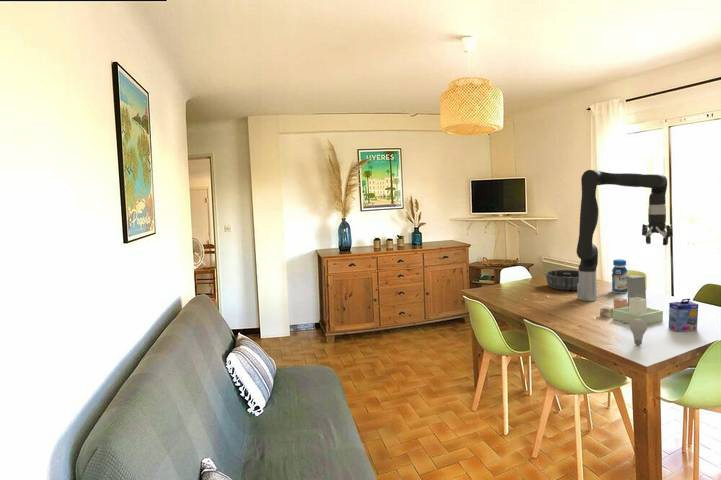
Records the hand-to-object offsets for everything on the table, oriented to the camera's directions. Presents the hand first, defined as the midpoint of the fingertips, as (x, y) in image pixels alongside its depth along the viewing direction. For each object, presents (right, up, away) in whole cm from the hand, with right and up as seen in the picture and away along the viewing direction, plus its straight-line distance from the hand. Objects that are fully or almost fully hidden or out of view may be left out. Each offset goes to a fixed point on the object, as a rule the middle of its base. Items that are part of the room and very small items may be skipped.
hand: (656, 244), depth 223 cm
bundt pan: (-17, -30, +61) cm, 70 cm away
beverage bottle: (+6, -30, +42) cm, 52 cm away
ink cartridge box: (-10, -38, -31) cm, 50 cm away
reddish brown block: (-19, -35, 0) cm, 40 cm away
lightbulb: (-40, -41, -46) cm, 74 cm away
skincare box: (-2, -33, +14) cm, 36 cm away
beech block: (-29, -37, -5) cm, 47 cm away
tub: (-19, -37, -14) cm, 44 cm away
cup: (-19, -36, -14) cm, 43 cm away
